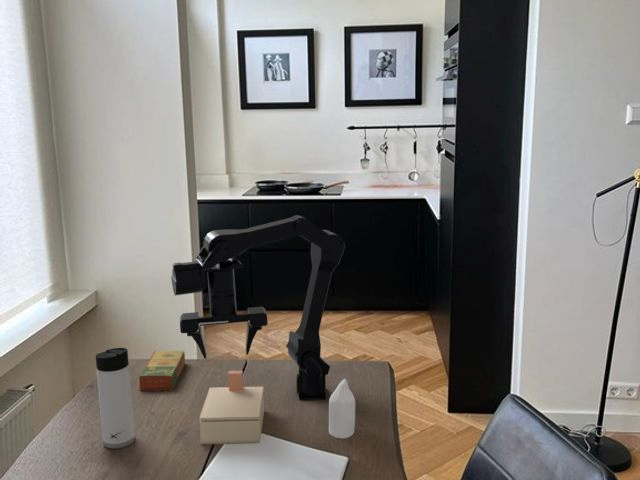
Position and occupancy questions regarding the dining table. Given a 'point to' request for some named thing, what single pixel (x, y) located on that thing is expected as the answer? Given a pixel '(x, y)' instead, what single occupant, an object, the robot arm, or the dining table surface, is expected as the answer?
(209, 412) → the lid panel
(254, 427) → the kraft box
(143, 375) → the carton
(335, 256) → the robot arm
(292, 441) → the dining table surface
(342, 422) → the white pointed cylinder
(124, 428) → the travel mug
